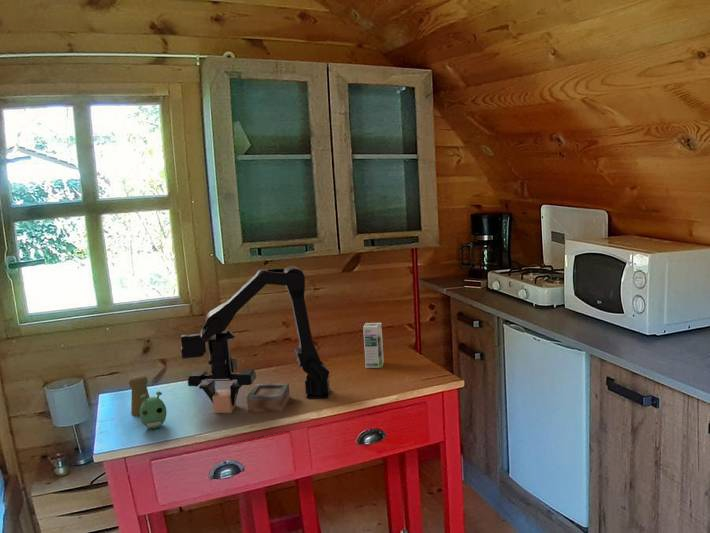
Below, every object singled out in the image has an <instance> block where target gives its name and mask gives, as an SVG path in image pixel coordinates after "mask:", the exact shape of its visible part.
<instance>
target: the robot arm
mask: <svg viewBox="0 0 710 533" xmlns="http://www.w3.org/2000/svg"><path fill="white" fill-rule="evenodd" d="M266 285H274V286H275V285H277V286H285V289H286V291H287V293H288V295H289V297H290V303H291V307H292V312H293V317H294V322H295V327H296V332H297V338H298V348H294V352H295V354H296V359H295V360H296V363H297V364H298V366H299V368H301V369H302V371H303V372H304V373H306V374H307V375H306V378H305V380H304V386H305V394H306V399H323V398H324V399H327V398H329V396H330V393H331V391H332V389H331V388H330V378H329V377H330V376H329V375H330V370H329V369H328V368H327V366H326V365H325V362H323V361H322V360H321V359H320V355H319V353H318V351H317V349H316V347H315V343H314V342H313V336H312V332H311V326H310V321H309V315H308V311H307V306H306V301H305V293H306V292H305V291H306V276H305V274H304V272H303V271H302V270H301V269H300V268H299V267H297V266H295V265H289V266H288V265H287V267H285V268H270V269H267V268H260V269H258V271H257V272H256V273H255V275H253V276H252V277H251V278H250V279H249V280H248V281H247V282H246V283H245V284H243V286H241V288H240V289H239V290H238V291H237V292H235V293H234V294H233V295H232V296H231V297H230V298H228V300H226V301H225V302H223V303H221V304H220V305H217V306H216V307H214V308H213V309H212V310H210V311H209V312H207V314H206V315H205V323H204V325H203V327H202V328H201V330H200V333H194V334H181V336H180V341H181V348H180V349H181V350H180V351H181V359H182V360H189V359H190V360H191V359H197V358H203V357H204V356H205V354H207V347H208V355H209V360H208V361H207V362H208V365H209V366H210V374H208V371H207V370H194V371H193V372H192V373H191V374H190V375H189V376H188V377H187V386H188V387H198V386H199V387H198V388H199V389H202V391H203V392H204V393H205V394H206V396H207V397H208V398H209V399H210V402H211V403H212V404H213V398H212V396H213V395H214V394H215V393H216V392H217V391H216V382H224V381H225V382H229V381H232V384H231V385H230V387H229V388H230V389H229V390H231V400H232V405H233V406H235V403H236V404H237V398H238V394H239V390H240V388H242V386H250V385H252V384H253V383H254V381H255V380H256V379H257V372H256V371H255V370H254V369H241V370H240V372H239V373H235V371H236V370H238V359H237V358H233V356H232V354H230V345H229V343H230V342H229V340H230V339H232V340H233V339H235V337H236V336H235V333H234V332H233V331H231V330H230V328H228V326H229V325H230V324H231V322H232V320H234V318H235V316H236V314H237V312H239V310H241V309H242V308H243V307H244V306H245V305H246V304H247V303H248V302H250V300H251V299H253V297H254V296H256V295H257V293H259V292H260V291H261V290H262V289H263V288H264V287H265V286H266ZM206 343H207V344H206ZM207 345H208V346H207Z"/></svg>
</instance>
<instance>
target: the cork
mask: <svg viewBox="0 0 710 533" xmlns="http://www.w3.org/2000/svg"><path fill="white" fill-rule="evenodd" d="M148 382H149V380H148V377H147V376H146V375H145V374H136V375H133V376H131V377H130V378H129V380H128V385H129V386H128V387H129V388H131V406H130V407H131V410H130V411H131V415H132V416H135V417H140V407H141V405H142V403H143V402H144V399H141V398H140V397H141V395H143V394H145V395H146V397H145V399H148V398H151V396H150V394H149V390H148V387H147V385H148V384H149V383H148Z"/></svg>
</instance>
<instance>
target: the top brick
mask: <svg viewBox="0 0 710 533" xmlns="http://www.w3.org/2000/svg"><path fill="white" fill-rule="evenodd" d="M212 398H213V403H212V405H213V407H212V408H213V414H214V413H215V414H222V413H224V414H227V413H230V414H231V413H232V412H233V410H234V409H235V408H236V407H237V402H236V403H235V406H233V405H232V400H231V390H230V389H217V391H216V393H215V394H214V395H213V396H212Z"/></svg>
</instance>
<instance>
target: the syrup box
mask: <svg viewBox="0 0 710 533" xmlns="http://www.w3.org/2000/svg"><path fill="white" fill-rule="evenodd" d="M362 330H363V333H362V334H363V344H364V360H365V361H364V362H365V365H364V367H365V368H366V369H382V368H383V366H384V363H385V361H384V360H385V359H384V346H383V345H384V344H383V328H382V322H365V324H364V325H363V328H362Z"/></svg>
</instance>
